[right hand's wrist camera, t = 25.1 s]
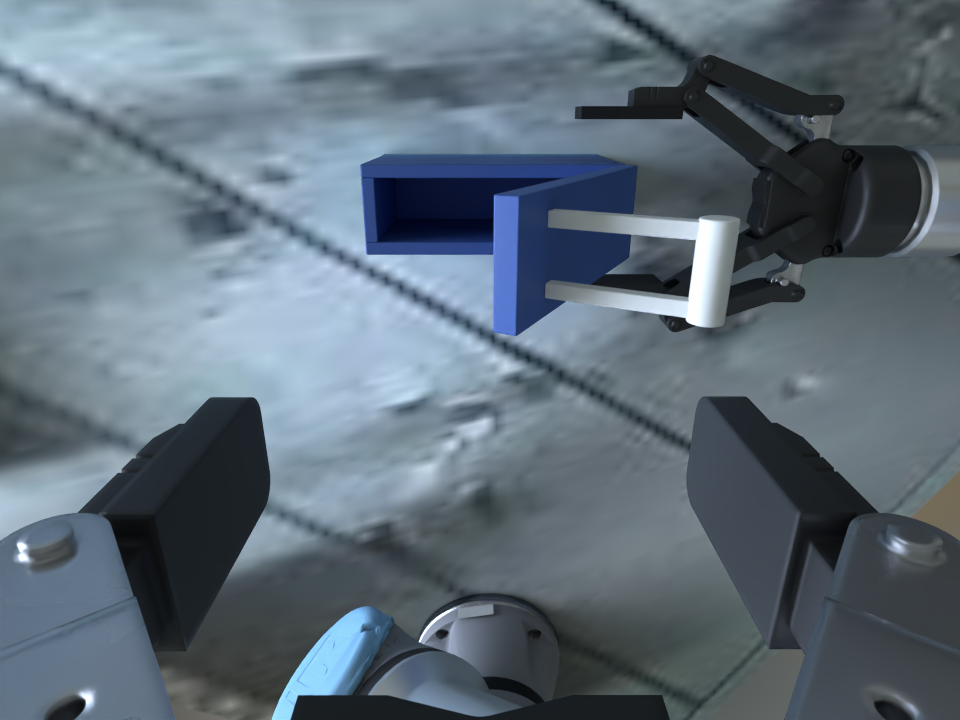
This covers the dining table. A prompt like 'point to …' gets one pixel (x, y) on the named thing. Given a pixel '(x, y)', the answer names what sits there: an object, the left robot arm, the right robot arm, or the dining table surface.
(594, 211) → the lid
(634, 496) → the dining table surface
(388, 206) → the chest
